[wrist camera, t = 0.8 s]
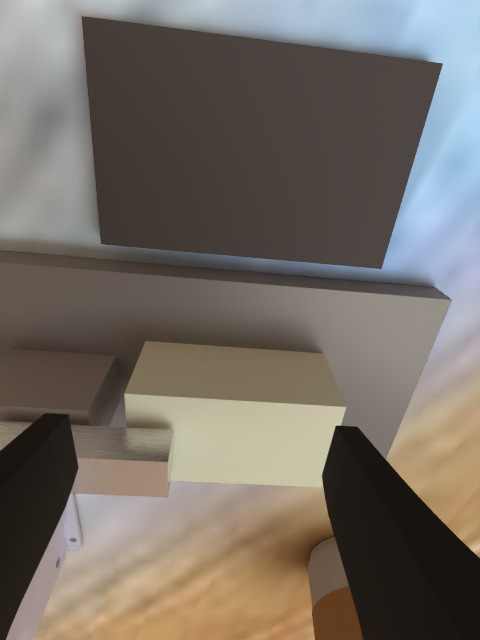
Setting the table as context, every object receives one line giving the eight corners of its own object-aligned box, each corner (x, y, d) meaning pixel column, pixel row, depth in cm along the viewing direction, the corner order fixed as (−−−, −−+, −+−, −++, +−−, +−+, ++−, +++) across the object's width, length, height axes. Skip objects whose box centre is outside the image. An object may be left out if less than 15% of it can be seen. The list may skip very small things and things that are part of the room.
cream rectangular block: (305, 425, 20) (321, 487, 17) (147, 417, 20) (130, 478, 16) (323, 353, 18) (346, 406, 15) (145, 340, 18) (124, 393, 14)
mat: (375, 263, 17) (381, 268, 17) (106, 239, 17) (101, 244, 16) (431, 67, 14) (442, 63, 13) (89, 22, 13) (81, 16, 12)
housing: (372, 452, 24) (408, 534, 19) (32, 435, 22) (-22, 520, 17) (435, 287, 18) (510, 344, 13) (-12, 249, 17) (-110, 298, 12)
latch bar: (173, 464, 15) (167, 497, 14) (6, 455, 15) (-17, 489, 14) (173, 430, 15) (167, 462, 13) (-5, 420, 14) (-30, 452, 13)
